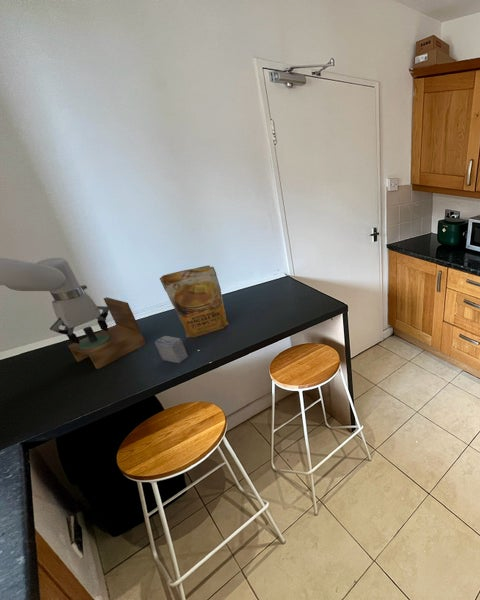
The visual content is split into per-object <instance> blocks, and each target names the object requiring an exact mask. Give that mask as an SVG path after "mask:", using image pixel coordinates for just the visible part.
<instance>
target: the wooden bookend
mask: <svg viewBox="0 0 480 600" xmlns="http://www.w3.org/2000/svg"><path fill="white" fill-rule="evenodd" d="M103 301H104V303H105V306H106V307H109V311H108V312H109V313H110V315H111V317H112V320H113V321H114V323H115V324H114V325H112V326H110V327H107V328H108V331H104V330H101V331H98V332H96V333H95V335H100V334H107V335H109V336H110V339H109V340H108V341H107V342H106V343H104V344H102V345H100V346H97V347H94V348H90V349H80V348H78V344H76V343H74V342H73V343H71V344H69V345H67V347H68V349H69V350H70V352H71V354H72V355H73V357H74V359H75V360H76V362H81V361H83V360H85V359H87V358H90V360H91V362H92V364H93V365H94V368H95V369H97V370H99V369H101V368H103V367H105V366H107V365H108V364H110V363H112V362H114V361H116V360H118V359H120V358H122V357H124V356H126V355H128V354H130V353H132V352H133V351H136V350H137V349H140V348H142V347H143V346H146V345H147V342H146V340H145V337H144V335H143V333H142V331H141V328H140V326H139V325H138V321H137V320H136V318H135V316H134V313H133V311H132V308H131V306H130V304H129V302H126V301H124V300H123V301H122V300H120V299H116V298H112V297H104V298H103ZM86 338H88V337H87V336H86V337H84V338H83V339H79V341H80V342H81V341H83V340H84V339H86Z"/></svg>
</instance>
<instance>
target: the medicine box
mask: <svg viewBox="0 0 480 600" xmlns="http://www.w3.org/2000/svg"><path fill="white" fill-rule="evenodd" d="M154 344H155V347H156V349H157V351H158V353H159V356H160V358H161V360H162V361H165V362H170V363H175V364H180V363H182V362H183V361H185V360H186V359H187V358H189V355H188V353H187V350H186V347H185V345H184V343H183V341H182V338H179V337H175V336H170V335H169V336H168V335H163V336H161V337H160V338H158V339H157V340H155V341H154Z"/></svg>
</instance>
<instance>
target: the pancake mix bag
mask: <svg viewBox="0 0 480 600" xmlns="http://www.w3.org/2000/svg"><path fill="white" fill-rule="evenodd" d="M217 275H218V274H217V271H216V270H215V266H211V265H204V266H198V267H195V268H190V269H189V268H188V269H184V270H180V271H175V272H171V273H166V274H163V275H162V276H160V278H159V280H160V283H161V284H162V288H163V289H164V291H165V292H166V294H167V296H168V299H169V302H171V305H172V307H173V308H174V310H175V311H176V313H177V316H178V319H179V320H180V322H181V324H182V326H183V328H184V331H185V338H193V339H194V338H198V337H202V336H205V335H207V334H212V333H214V332H217V331H221V330H223V329H225V328H226V327H227V326H229V322H228V320H227V316H226V310H225V306H224V299H223V294H222V289H221V285H220V281H219V279H218V276H217Z"/></svg>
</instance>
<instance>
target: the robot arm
mask: <svg viewBox="0 0 480 600" xmlns="http://www.w3.org/2000/svg"><path fill="white" fill-rule="evenodd" d="M0 286H5V287H6V288H7V289H9V290H12V291H17V292H49V293H50V295H51V297H52V298H53V300H52V301H51V305H52V308H53V311H54V314H55V316H56V319H57V320H56V321H55V322H54V323H53V324H51V326H50V327H49V330H50V331H53V332H55V333H57V334H61V335H66V337H67V338H68V340H69V342H71V344H73V343H76V344H79V343H80V339H79V338H78V336H77V334H76V333H74V330H75V328H76V327H79V326H81V325H84V324H87V323H89V322H92V321H94V320H97V322H96V323H97V324H98V326H99V328H100V330H101V331H103V330H104V331H108V328H109V325H108V323H107V322H106V321H107V318H108V315H109V312H110V311H109V307H107V305H105V306H104V305H97V304H96V303H95V301H94V300H93V299H92V297H91V296H90V295H89V294H88V293H87V292H85V290H87V289H88V286H87V285H86V284H83V285H81V284H80V282H79V279H78V278H77V276H76V274H75V272H74V270H73V268H72V266H71V263H70V262H69V261H68V260H67V259H66V258H64V257H50V258H45V259H41V260H39V261H37V262H31V261H27V260H26V261H25V260H19V259H13V258H8V257H7V258H6V257H0ZM100 310H101V311H102V312H101V311H100ZM60 326H62V327H64V329H60Z"/></svg>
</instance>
